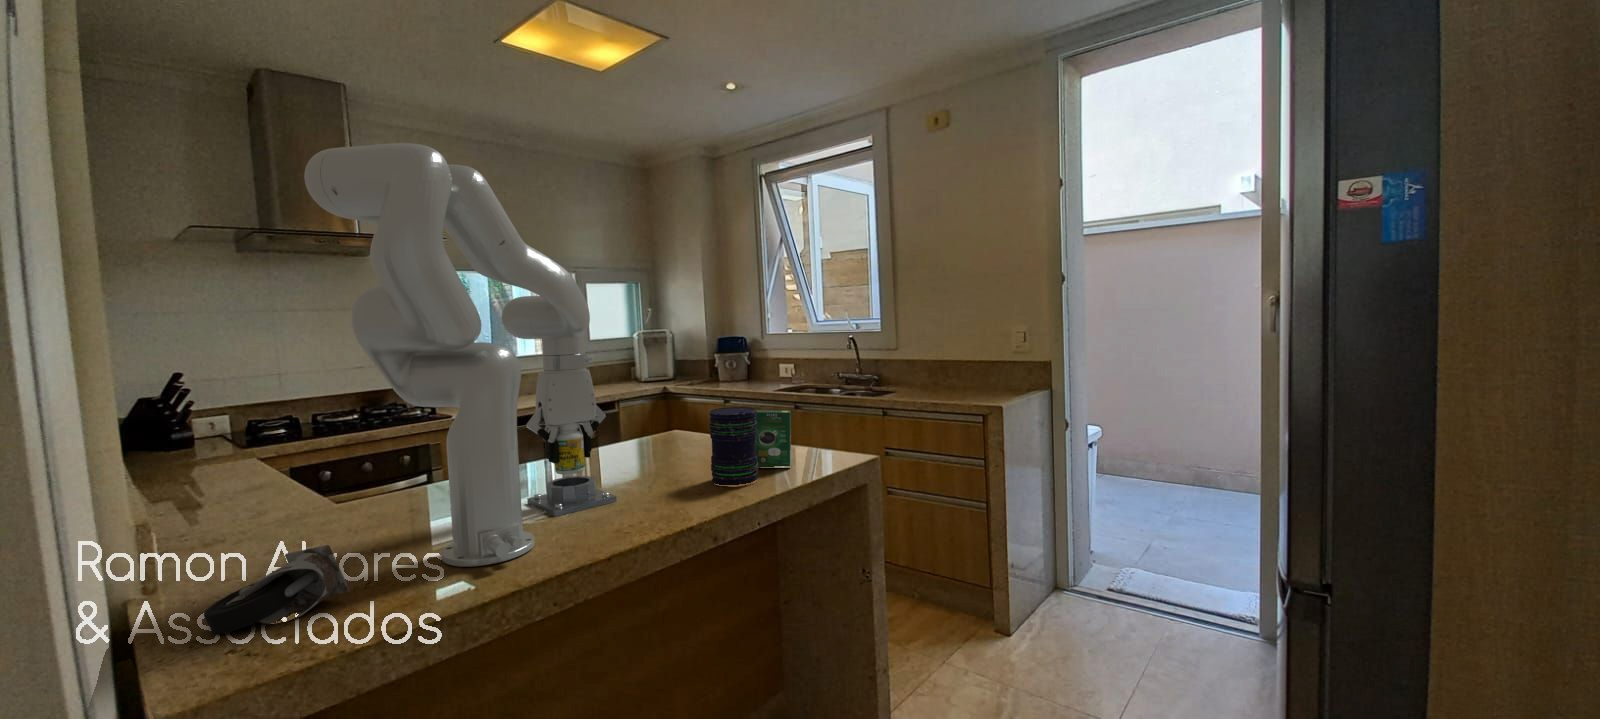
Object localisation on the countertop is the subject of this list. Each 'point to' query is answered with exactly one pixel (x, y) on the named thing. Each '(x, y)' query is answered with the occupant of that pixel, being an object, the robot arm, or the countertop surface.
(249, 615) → the caster wheel
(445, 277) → the robot arm
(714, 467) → the storage jar
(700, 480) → the countertop surface
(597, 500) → the pipe flange
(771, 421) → the coffee box
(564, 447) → the supplement bottle
